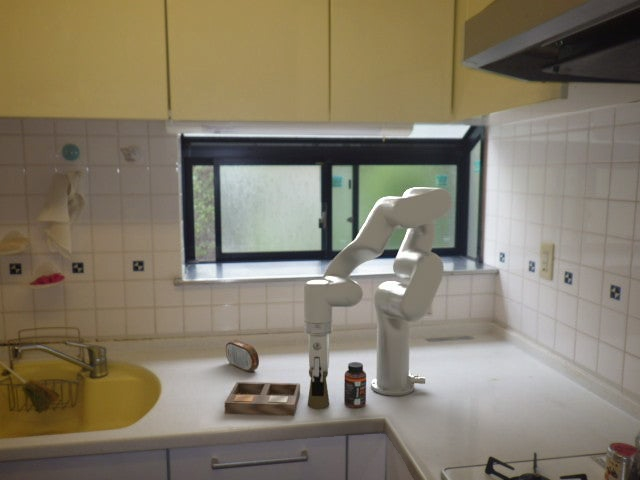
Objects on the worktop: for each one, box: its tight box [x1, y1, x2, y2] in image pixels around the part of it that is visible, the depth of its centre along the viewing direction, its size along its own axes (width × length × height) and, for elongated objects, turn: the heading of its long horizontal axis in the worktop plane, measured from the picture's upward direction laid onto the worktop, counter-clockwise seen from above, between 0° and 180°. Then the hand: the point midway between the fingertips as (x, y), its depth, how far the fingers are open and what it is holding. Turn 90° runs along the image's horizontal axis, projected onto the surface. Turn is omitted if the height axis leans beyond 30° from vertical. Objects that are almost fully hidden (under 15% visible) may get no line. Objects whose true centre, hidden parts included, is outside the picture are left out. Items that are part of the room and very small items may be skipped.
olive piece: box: [307, 368, 330, 410], centre depth 141 cm, size 6×6×11 cm
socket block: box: [224, 381, 301, 417], centre depth 143 cm, size 18×14×3 cm
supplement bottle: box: [343, 361, 367, 409], centre depth 141 cm, size 6×6×11 cm
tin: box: [225, 339, 260, 373], centre depth 169 cm, size 15×3×8 cm, turn 45°
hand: (318, 390), depth 141 cm, fingers closed on olive piece, 4 cm apart
